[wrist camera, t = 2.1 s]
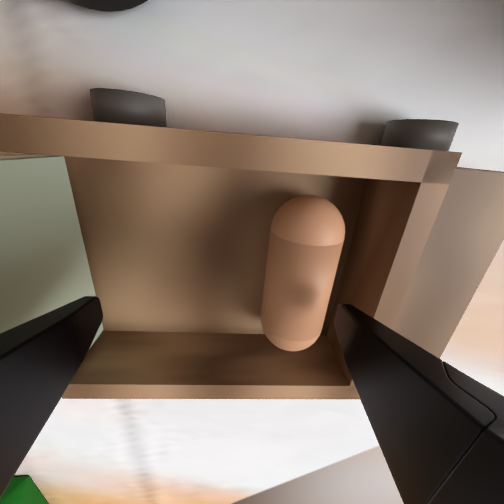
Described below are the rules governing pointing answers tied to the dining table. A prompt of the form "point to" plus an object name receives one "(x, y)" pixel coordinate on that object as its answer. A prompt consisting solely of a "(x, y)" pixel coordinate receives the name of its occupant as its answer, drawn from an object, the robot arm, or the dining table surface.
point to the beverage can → (109, 4)
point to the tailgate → (39, 240)
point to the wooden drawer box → (256, 245)
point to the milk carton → (22, 492)
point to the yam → (300, 270)
